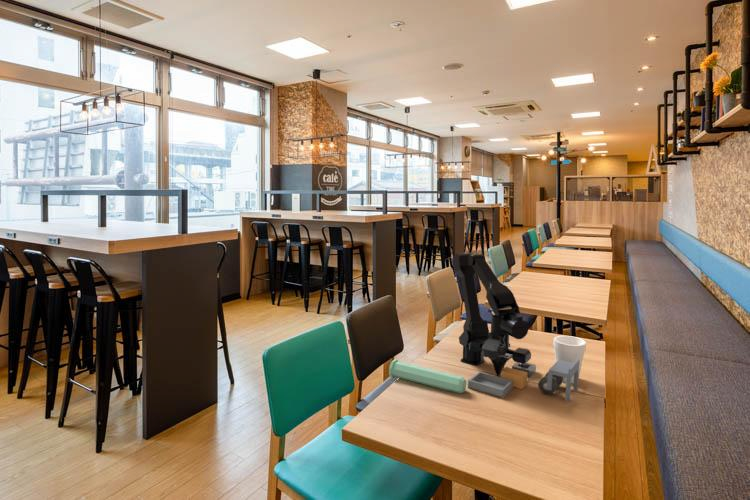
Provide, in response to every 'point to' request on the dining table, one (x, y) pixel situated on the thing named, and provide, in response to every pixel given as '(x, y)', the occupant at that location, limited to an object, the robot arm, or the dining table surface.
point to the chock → (515, 377)
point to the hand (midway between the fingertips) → (498, 375)
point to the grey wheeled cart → (560, 377)
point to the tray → (490, 384)
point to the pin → (524, 363)
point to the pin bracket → (529, 370)
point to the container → (427, 376)
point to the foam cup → (569, 351)
